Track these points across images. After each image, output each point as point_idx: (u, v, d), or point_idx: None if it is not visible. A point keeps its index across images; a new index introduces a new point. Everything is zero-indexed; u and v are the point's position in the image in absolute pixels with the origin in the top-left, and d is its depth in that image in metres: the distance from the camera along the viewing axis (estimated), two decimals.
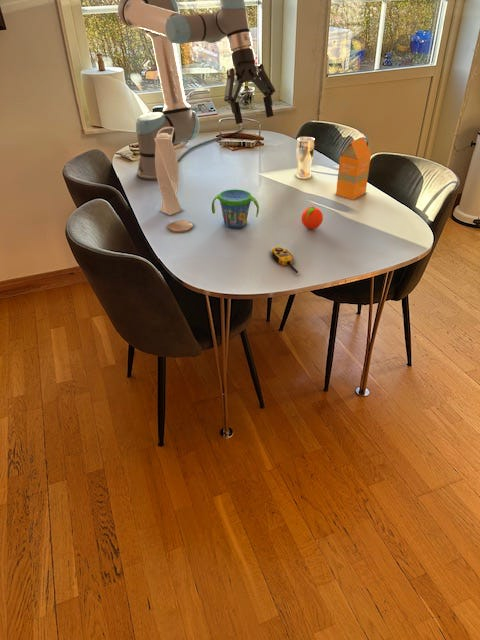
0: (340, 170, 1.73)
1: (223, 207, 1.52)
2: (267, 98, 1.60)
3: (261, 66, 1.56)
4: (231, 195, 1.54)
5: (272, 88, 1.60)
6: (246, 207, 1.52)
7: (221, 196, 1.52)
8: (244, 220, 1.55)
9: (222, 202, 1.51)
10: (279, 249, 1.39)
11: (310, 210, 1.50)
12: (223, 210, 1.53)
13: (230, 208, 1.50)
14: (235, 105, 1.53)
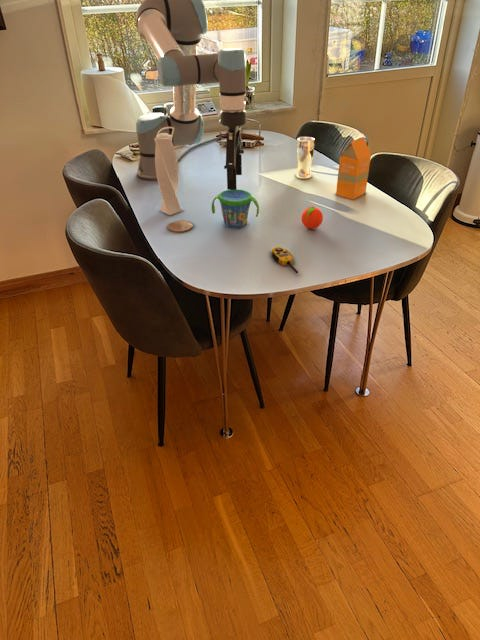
0: (340, 170, 1.73)
1: (223, 207, 1.52)
2: (239, 157, 1.52)
3: None
4: (231, 195, 1.54)
5: (241, 146, 1.52)
6: (246, 207, 1.52)
7: (221, 196, 1.52)
8: (244, 220, 1.55)
9: (222, 202, 1.51)
10: (279, 249, 1.39)
11: (310, 210, 1.50)
12: (223, 210, 1.53)
13: (230, 208, 1.50)
14: (233, 172, 1.40)
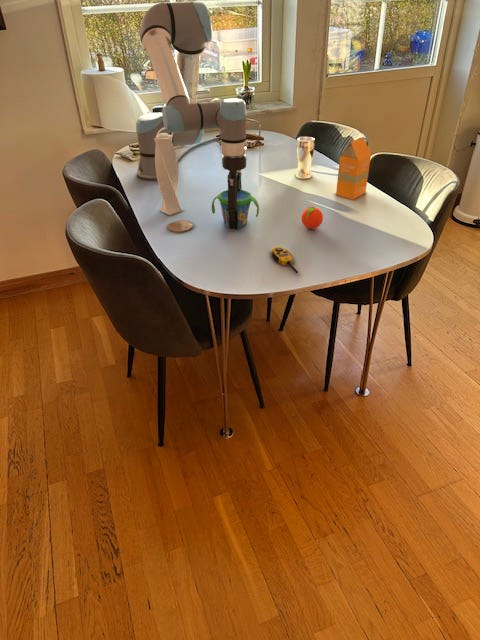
0: (340, 170, 1.73)
1: (223, 207, 1.52)
2: None
3: None
4: None
5: (241, 189, 1.59)
6: (246, 207, 1.52)
7: (221, 196, 1.52)
8: (244, 220, 1.55)
9: (222, 202, 1.51)
10: (279, 249, 1.39)
11: (310, 210, 1.50)
12: (223, 210, 1.53)
13: None
14: (235, 214, 1.50)
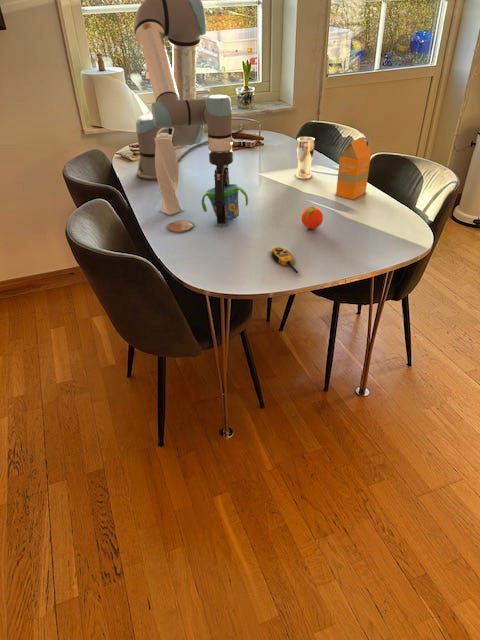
0: (340, 170, 1.73)
1: (212, 202, 1.55)
2: None
3: None
4: None
5: None
6: (234, 197, 1.54)
7: (208, 192, 1.56)
8: (235, 211, 1.57)
9: (210, 196, 1.54)
10: (279, 249, 1.39)
11: (310, 210, 1.50)
12: (213, 205, 1.56)
13: None
14: (222, 208, 1.53)
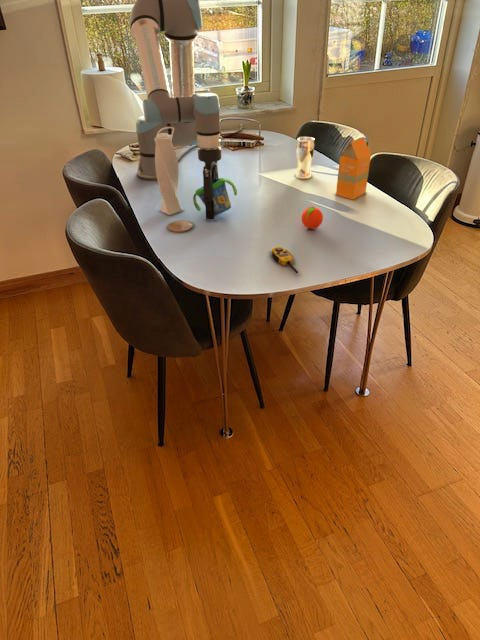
0: (340, 170, 1.73)
1: (202, 198, 1.59)
2: None
3: (216, 160, 1.60)
4: None
5: None
6: (222, 189, 1.57)
7: (197, 190, 1.59)
8: (226, 203, 1.59)
9: (198, 194, 1.57)
10: (279, 249, 1.39)
11: (310, 210, 1.50)
12: (203, 201, 1.59)
13: None
14: (211, 204, 1.57)
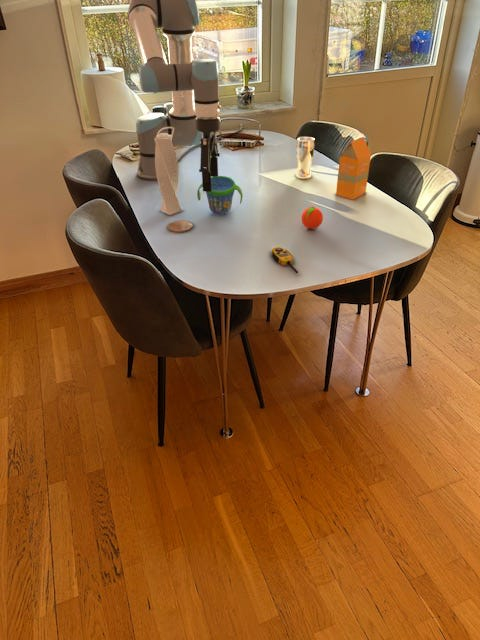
0: (340, 170, 1.73)
1: (209, 196, 1.60)
2: (215, 160, 1.60)
3: None
4: (216, 183, 1.61)
5: (217, 149, 1.61)
6: (230, 195, 1.60)
7: None
8: (229, 207, 1.64)
9: (208, 192, 1.58)
10: (279, 249, 1.39)
11: (310, 210, 1.50)
12: (209, 198, 1.61)
13: (215, 197, 1.58)
14: (208, 175, 1.49)
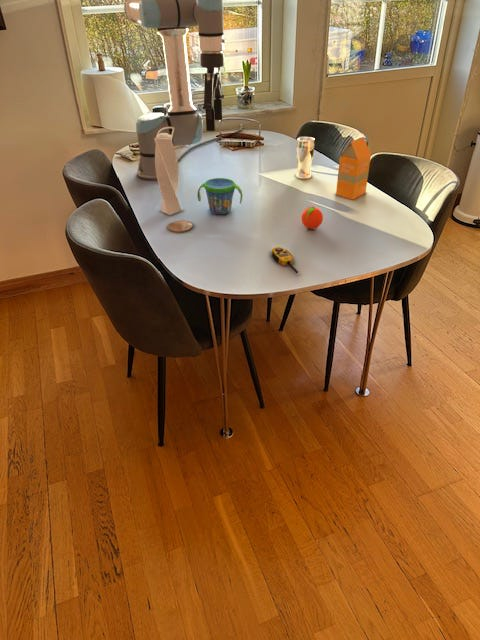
0: (340, 170, 1.73)
1: (209, 195, 1.61)
2: (219, 101, 1.58)
3: (219, 69, 1.52)
4: (216, 183, 1.63)
5: (221, 91, 1.58)
6: (230, 194, 1.61)
7: (206, 184, 1.61)
8: (229, 207, 1.64)
9: (208, 190, 1.59)
10: (279, 249, 1.39)
11: (310, 210, 1.50)
12: (209, 197, 1.62)
13: (215, 195, 1.59)
14: (211, 112, 1.47)
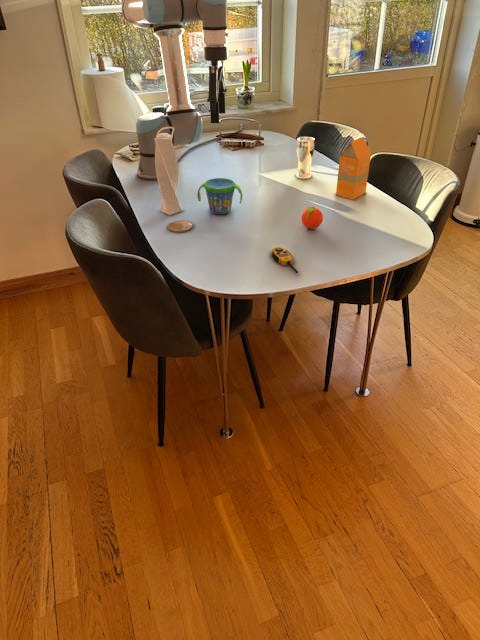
0: (340, 170, 1.73)
1: (209, 195, 1.61)
2: (222, 95, 1.61)
3: (222, 63, 1.55)
4: (216, 183, 1.63)
5: (224, 85, 1.62)
6: (230, 194, 1.61)
7: (206, 184, 1.61)
8: (229, 207, 1.64)
9: (208, 190, 1.59)
10: (279, 249, 1.39)
11: (310, 210, 1.50)
12: (209, 198, 1.62)
13: (215, 195, 1.59)
14: (216, 105, 1.50)
